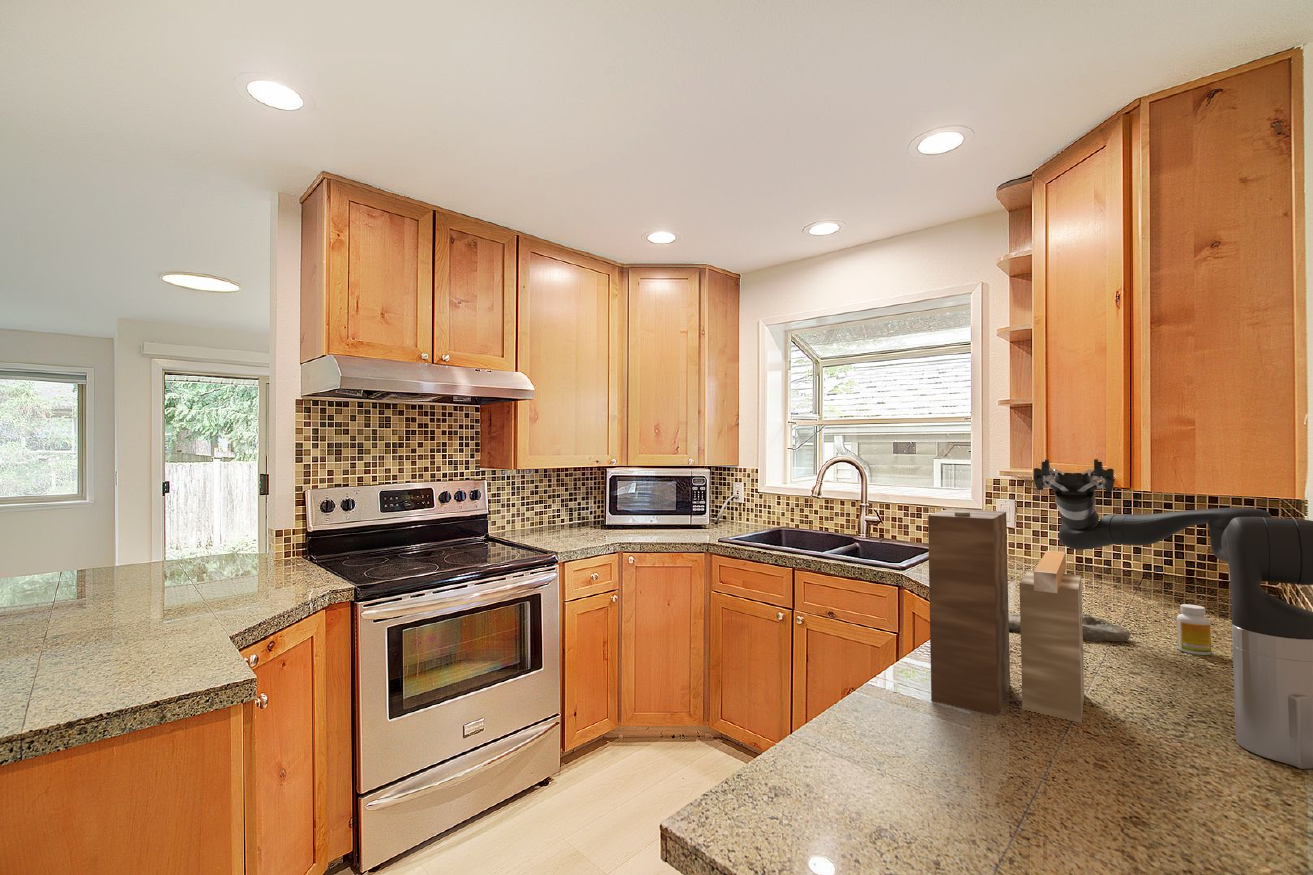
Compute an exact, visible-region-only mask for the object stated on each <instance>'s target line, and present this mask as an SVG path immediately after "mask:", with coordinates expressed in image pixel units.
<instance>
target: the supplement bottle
mask: <svg viewBox="0 0 1313 875" xmlns="http://www.w3.org/2000/svg"><path fill="white" fill-rule="evenodd" d="M1180 612H1181V613H1180V614H1178V615H1177V616H1176V635H1177V640H1176V641H1177V649H1178V650H1179V651H1181V652H1184V653H1188V654H1191V655H1198V656H1208V655H1209V656H1210V655H1211V654H1212V638H1211V637H1212V635H1211V633H1212V632H1211V621H1210V619H1209V618H1208V617H1206V616H1205V615H1206V613H1207V612H1206V608H1205V607H1204V606H1201V605H1196V604H1188V603H1183V604H1180Z"/></svg>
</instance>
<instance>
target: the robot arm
mask: <svg viewBox="0 0 1313 875" xmlns="http://www.w3.org/2000/svg"><path fill="white" fill-rule="evenodd" d="M1040 467H1041V468H1039V467H1036V468H1033V478H1032V479H1033V482H1034V484H1035V486H1036V489H1037V490H1039V491H1042V490H1044V488H1051V489H1053V492H1054V498H1055V500H1054V502H1055V505H1056V507H1057V509H1058V514H1059V518H1060V520H1061V524H1060V525H1061V526H1060V529H1059V532H1058V539H1059V542H1060V543H1061V544H1062V545H1063V546H1065V547H1066V548H1068V549H1071V550H1078V551H1086V550H1092V549H1097V548H1102V547H1107V546H1113V545H1122V546H1148V545H1153V544H1157V543H1159V542H1162V541H1163V540H1165V539H1168V538H1170V537H1171V536H1172V535H1175V534H1176V533H1178V532H1180V531H1183V530H1185V529H1189V528H1190V527H1194V526H1199V525H1207V526H1208V532H1209V540H1210V548H1211V551H1212V554H1213V556H1215V557H1216V558H1217V559H1218V560H1221V561H1223V562H1226V563H1228V572H1229V581H1230V597H1231V598H1230V601H1231V602H1230V603H1231V637H1232V638H1231V640H1232V643H1231V644H1232V665H1233V666H1232V667H1233V668H1232V669H1233V670H1232V672H1233V695H1234V696H1233V697H1234V698H1233V699H1234V721H1235V722H1234V723H1235V725H1234V726H1235V741H1236V743H1237V744H1238V745H1239V746H1240V747H1242V748H1243V749H1245V750H1247V751H1249V752H1251V753H1253V754H1255V755H1257V756H1260V757H1263V758H1267V759H1270V760H1273V761H1276V762H1280V763H1284V764H1287V765H1291V766H1293V767H1296V768H1298V769H1303V770H1305V769H1313V611H1312V610H1309V609H1307V608H1306V609H1305V608H1303V607H1299V606H1297V605H1294V604H1291V603H1288V602H1285V601H1283V600H1282V599H1279V598H1277V597H1276V596H1273V595H1271V594H1269V593H1268V592H1266V591H1265V590H1264V589H1263V588H1262V586H1261V584H1262V582H1267V583H1277V584H1278V583H1279V584H1291V585H1300V586H1302V585H1303V586H1313V520H1310V519H1304V518H1282V517H1281V518H1280V517H1273V516H1272V514H1271V513H1270V512H1269V511H1267V510H1264V509H1260V508H1253V507H1218V508H1217V507H1216V508H1215V507H1214V508H1203V509H1201V508H1200V509H1190V510H1189V509H1188V510H1178V511H1169V512H1159V513H1147V514H1146V513H1145V514H1144V513H1142V514H1139V513H1138V514H1137V513H1136V514H1134V513H1133V514H1131V513H1130V514H1129V513H1128V514H1127V513H1125V514H1123V513H1121V514H1120V513H1119V514H1116V513H1115V514H1114V513H1111V514H1106V515H1103V516H1102V517H1101V518H1100V517H1099V514H1098V512H1097V511H1096V505H1097V504H1096V503H1097V502H1096V490H1097V489H1104V490H1105V492H1107V493H1108V492H1109V493H1110V492H1113V491H1114V490H1113V489H1114V485H1115V484H1114V483H1115V476H1114V473H1115V470H1114V469H1113V468H1107V469H1104V468H1103V462H1102V461H1099V459H1098V458H1097V459H1096V458H1095V459H1093V469H1090V468H1089V469H1088V470H1086V471H1083V472H1073V473H1072V472H1063V471H1061V470H1059V469H1057V468H1054V469H1053V468H1051V464H1050V459H1048V458H1045V459H1044V461H1041V466H1040ZM1099 518H1100V519H1099Z"/></svg>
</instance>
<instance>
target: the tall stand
mask: <svg viewBox="0 0 1313 875" xmlns="http://www.w3.org/2000/svg"><path fill="white" fill-rule="evenodd" d="M1007 524H1008V522H1007V511H1005V510H1003V511H1002V510H1001V511H1000V510H999V511H997V510H981V509H979V510H977V509H958V508H957V509H956V508H946V509H943V510H940V511H937V512H934V513H931V514H928V515H927V529H928V530H927V532H928V534H927V537H928V541H927V542H928V582H929V583H928V588H929V589H928V593H929V635H930V636H929V638H930V639H929V641H930V642H929V643H930V644H929V645H930V647H929V650H930V653H929V654H930V692H931V693H930V696H931V698H930V700H931V701H932V702H936V703H940V704H941V703H942V704H946V705H950V706H954V707H958V708H963V709H967V710H972V711H976V712H980V713H984V714H988V715H993V716H999V712H1000V711H1001V708H1002V706H1003V704H1004V701H1005V698H1006V697H1007V694H1008V692H1009V689H1010V687H1011V665H1010V664H1011V662H1010V660H1011V659H1010V658H1011V657H1010V630H1009V614H1010V613H1009V612H1010V611H1009V609H1010V608H1009V576H1008V575H1009V572H1008V571H1009V570H1008V567H1009V566H1008V532H1007V531H1008V530H1007V528H1008V527H1007V526H1008V525H1007Z"/></svg>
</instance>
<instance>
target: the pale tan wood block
mask: <svg viewBox="0 0 1313 875" xmlns="http://www.w3.org/2000/svg"><path fill="white" fill-rule="evenodd" d="M1066 569H1067V553H1066V551H1059V550H1058V551H1057V550H1056V551H1055V550H1046V551H1045V553H1044V554H1043V556H1042V557H1041V559H1040V561H1039V562H1038V564H1037V565H1036V567H1035V568H1034V570H1033V571H1034V591H1042V592H1051V593H1057V592H1058V589H1059V586H1060V583H1061V580H1062V578H1063V575H1064V574H1065V572H1066Z"/></svg>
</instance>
